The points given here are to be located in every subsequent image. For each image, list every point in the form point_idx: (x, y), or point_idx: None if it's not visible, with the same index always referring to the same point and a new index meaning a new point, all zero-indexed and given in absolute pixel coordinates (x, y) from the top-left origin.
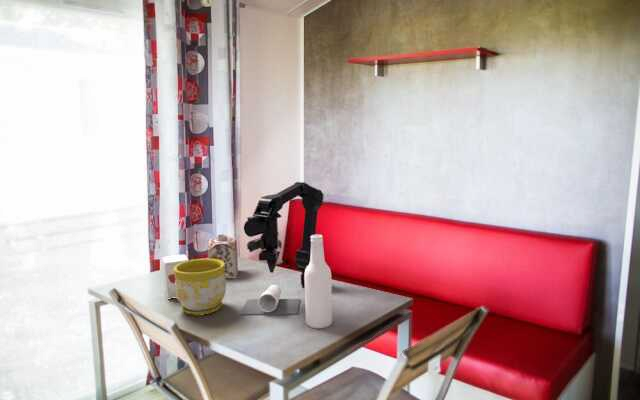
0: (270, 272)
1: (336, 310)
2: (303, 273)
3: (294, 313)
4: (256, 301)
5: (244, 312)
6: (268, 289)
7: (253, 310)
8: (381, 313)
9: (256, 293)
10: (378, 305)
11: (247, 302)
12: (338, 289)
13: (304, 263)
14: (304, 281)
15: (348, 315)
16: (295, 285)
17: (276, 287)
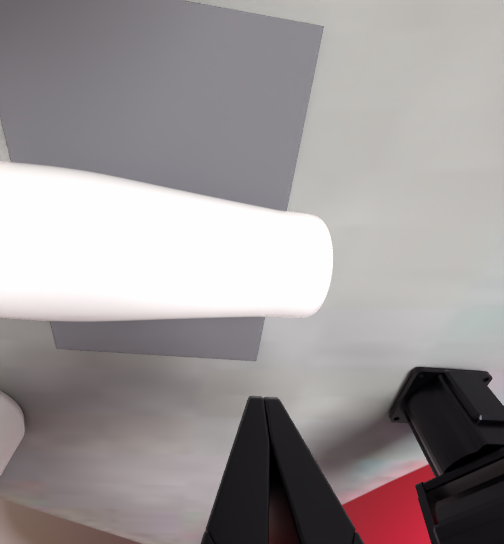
0: (249, 397)
1: (122, 453)
2: (473, 439)
3: (55, 338)
4: (256, 117)
5: (6, 10)
6: (119, 276)
7: (64, 98)
8: (104, 527)
9: (454, 109)
10: (168, 525)
11: (245, 31)
12: (340, 464)
13: (478, 539)
14: (442, 398)
15: (77, 476)
16: (472, 340)
17: (249, 313)
